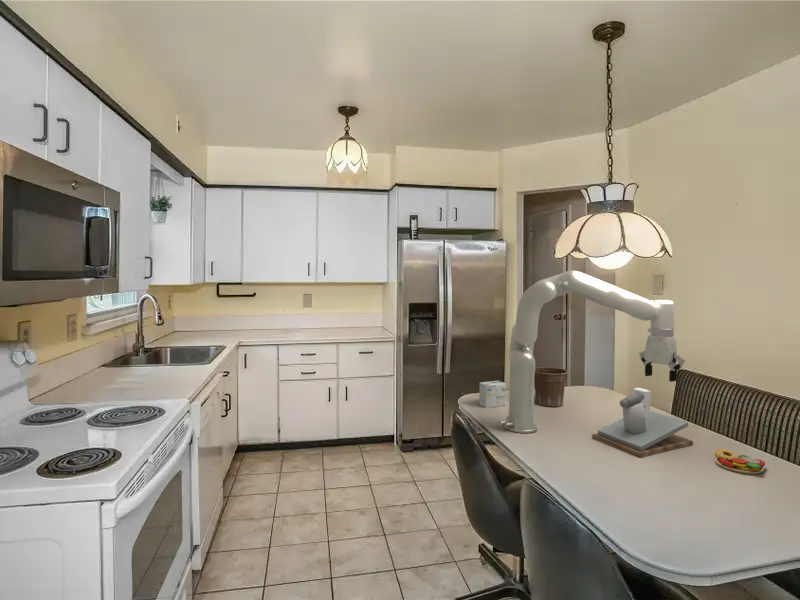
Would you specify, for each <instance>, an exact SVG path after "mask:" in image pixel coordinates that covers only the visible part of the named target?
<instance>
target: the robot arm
mask: <svg viewBox="0 0 800 600" xmlns="http://www.w3.org/2000/svg"><path fill="white" fill-rule="evenodd" d="M569 293H572V294H574V295H576V296H578V297H581V298H584V299H586V300H588V301H591V302H594V303H596V304H598V305H601V306H603V307H607V308H610V309H614V310H617V311H619V312H622V313H625V314H627V315H629V316H630V317H632V318H634V319H637V320H641V321H650V328H648V329H647V331H648V333H650V335H649V334H648V335H647V338H646V343H645V348H644V349H645V350H643V351H641V352H639V354H638V355H639V357H640V360H641V362H642V363H643V366H644V375H645V377H650V376H653V365H652V364H658V365H663V366H668V368H669V369H670V370H669V371H668V372H669V373H668V374H669V377H668V380H669V382H671V383H672V382H676V381H677V379H678V371H680V369H681V368H682V367H683V365H684V364H685V362H686V360H685V359H684V358H683V357H681V356H680V355H679V354H678V350H677V349H678V348H677V341H676V337H674V332H675V302H674V301H673V300H670V299H654V300H652V299H650V300H649V299H647V298H645V297H642V296H640V295H638V294H635V293H632V292H630V291H628V290H624V289H622V288H620V287H618V286H616V285H613V284H612V283H609V282H607V281H603V280H601V279H599V278H597V277H593V276H591V275H589V274H586V273H584V272H582V271H579V270H574V269H573V270H567V271H564V272H562V273H560V274H556V275H553V276H550V277H547V278H546V277H545V278H544V279H540V280H537V281H536V282H535V283H534V284H532V285H531V286H530V287H528V288H527V289H526V290H525V291H524V292H523V293H522V295H521V297H520V299H519V302H518V306H517V310H516V311H517V313H516V318H515V323H514V325H513V327H512V329H511V333H510V334H511V337H510V344H509V351H508V352H509V354H508V360H509V380H508V381H509V382H508V384H509V387H508V389H509V391H508V394H509V395H508V397H509V399H508V415H506V418H505V419H501V420H499V421H498V425H499V426H504V428H505V429H506V430H507V431H510V432H514V433H519V434H529V433H530V434H531V433H535V432H537V431H538V426H537V424H536V423H534V416H535V415H534V411H535V410H534V408H535V407H534V405H535V402H534V401H535V384H534V376H535V368H536V360H535V355H534V347H535V342H536V341H537V339H538V329H539V319H540V314H541V310H542V307H543V306H544V304H546V303H549V302H550V301H552V300H554V298H557V297H561V296H564V295H566V294H569Z"/></svg>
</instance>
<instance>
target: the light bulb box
mask: <svg viewBox="0 0 800 600" xmlns="http://www.w3.org/2000/svg"><path fill="white" fill-rule="evenodd" d="M506 386H507V384H506V382H503V381H500V380H493V381H492V380H491V381H483V382H481V381H480V382H479V405H480V406H482V407H484V408H485V409H490V408H498V407H505V406H506V403H507V402H506V401H507V400H506V398H507V395H506V392H507V390H506V389H507V387H506Z"/></svg>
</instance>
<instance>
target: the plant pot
mask: <svg viewBox="0 0 800 600" xmlns="http://www.w3.org/2000/svg"><path fill="white" fill-rule="evenodd" d="M568 373H569V371H568V370H567V369H564V368H559V367H551V366H544V367H543V366H541V367H535V376H534V397H535V403H536V404H537V405H538V406H541V407H545V408H546V407H547V408H548V407H552V408H559V407H561V406H563V404H564V396H565V388H566V387H565V385H566V380H567V374H568Z"/></svg>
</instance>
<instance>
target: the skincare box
mask: <svg viewBox="0 0 800 600" xmlns="http://www.w3.org/2000/svg"><path fill="white" fill-rule="evenodd" d="M638 392H640V393H642V394H643V395H644V399H643V400H642V401H641V402H643V405H644V409H645V410H648V411H651V403H652V390H651V389H646V388H642V387H634V388H633V389H632V395H633V394H635V393H638Z"/></svg>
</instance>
